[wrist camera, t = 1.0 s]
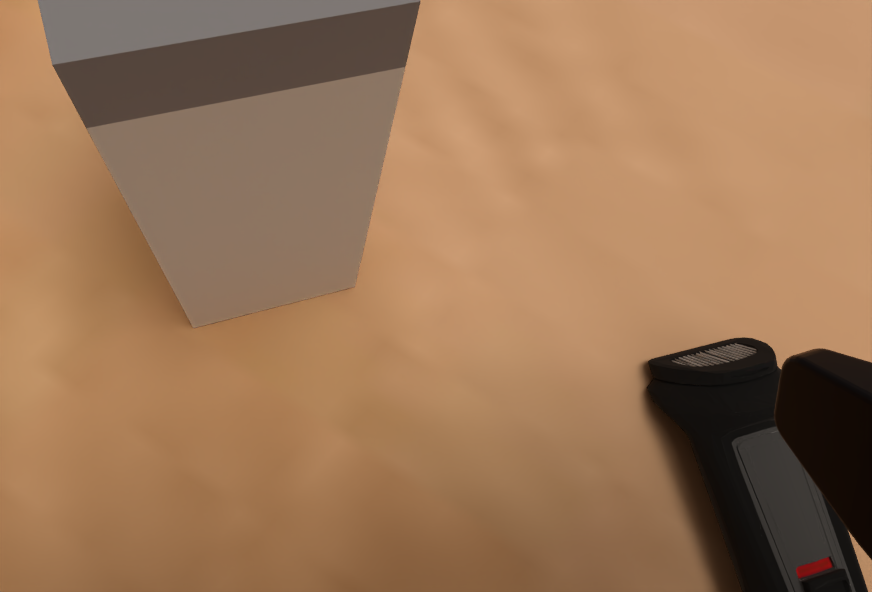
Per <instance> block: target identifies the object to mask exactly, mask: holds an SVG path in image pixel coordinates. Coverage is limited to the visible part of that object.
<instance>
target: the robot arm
mask: <svg viewBox="0 0 872 592" xmlns="http://www.w3.org/2000/svg"><path fill="white" fill-rule="evenodd" d="M774 419H775V423H776V427H777V429H778V431H779V433H780V435H781V436H782V438H783V439H784V441H785V442H786V444H787V445H788V446H789V448H790V449H791V451H792V452H793V453H794V455H795V456H796V458H797V459H798V460H799V462H800V463H801V465H802V466H803V467H804V469H805V470H806V472H807V473H808V475H809V476H810V477H811V479H812V480H813V482H814V483H815V484H816V486H817V487H818V489H819V490H820V491H821V493H822V494H823V496H824V497H825V498H826V500H827V501H828V503H829V504H830V505H831V507H832V508H833V510H834V511H835V512H836V514H837V515H838V517H839V518H840V520H841V521H842V522H843V524H844V525H845V527H846V528H847V529H848V531H849V532H850V533H851V535H852V536H853V537H854V538H855V540H856V541H857V542H858V544H859V545H860V546H861V548H862V549H863V550H864V551H865V552H866V554H867V555H868V556H869V557H870V558H871V560H872V363H871V362H868V361H864V360H861V359H858V358H854V357H851V356H847V355H844V354H841V353H837V352H834V351H831V350H827V349H820V348H819V349H813V350H809V351H806V352H803V353H800V354H797V355H793V356H791V357H789V358H787V359H786V361H785V362H784V364H783V366H782V369H781V374H780V380H779V386H778V392H777V398H776V404H775V409H774Z"/></svg>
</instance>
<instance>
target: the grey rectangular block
mask: <svg viewBox="0 0 872 592" xmlns="http://www.w3.org/2000/svg"><path fill="white" fill-rule="evenodd" d="M38 3H39V8H40V12H41V17H42V21H43V25H44V30H45V34H46V39H47V43H48V47H49V52H50V56H51V61H52V65H53V67H54V69H55V71H56V72H57V74H58V76H59V78H60V80H61V82H62V84H63V85H64V87H65V89H66V91H67V93H68V95H69V97H70V99H71V100H72V102H73V104H74V106H75V108H76V110H77V112H78V114H79V115H80V117H81V119H82V121H83V123H84V125H85V127H86V128H87V130H88V132H89V134H90V136H91V138H92V140H93V142H94V143H95V145H96V147H97V149H98V151H99V153H100V155H101V157H102V158H103V160H104V162H105V164H106V166H107V168H108V170H109V171H110V173H111V175H112V177H113V179H114V181H115V183H116V185H117V186H118V188H119V190H120V192H121V194H122V196H123V198H124V200H125V201H126V203H127V205H128V207H129V209H130V211H131V213H132V214H133V216H134V218H135V220H136V222H137V224H138V226H139V228H140V229H141V231H142V233H143V235H144V237H145V239H146V241H147V243H148V244H149V246H150V248H151V250H152V252H153V254H154V256H155V257H156V259H157V261H158V263H159V265H160V267H161V269H162V271H163V272H164V274H165V276H166V278H167V280H168V282H169V284H170V285H171V287H172V289H173V291H174V293H175V295H176V297H177V299H178V300H179V302H180V304H181V306H182V308H183V310H184V312H185V314H186V315H187V317H188V319H189V321H190V323H191V325H192V327H193V328H197V327H200V326H204V325H208V324H212V323H216V322H220V321H224V320H228V319H232V318H235V317H239V316H243V315H247V314H251V313H255V312H259V311H263V310H267V309H270V308H274V307H278V306H282V305H286V304H290V303H294V302H298V301H302V300H306V299H309V298H313V297H317V296H321V295H325V294H329V293H333V292H337V291H341V290H344V289H348V288H352V287H355V284H356V280H357V276H358V271H359V267H360V263H361V258H362V254H363V250H364V245H365V241H366V236H367V232H368V228H369V223H370V219H371V215H372V210H373V206H374V202H375V197H376V193H377V189H378V184H379V180H380V175H381V171H382V167H383V162H384V158H385V154H386V149H387V145H388V141H389V136H390V132H391V127H392V123H393V119H394V114H395V110H396V106H397V101H398V97H399V93H400V88H401V84H402V80H403V75H404V71H405V66H406V62H407V58H408V53H409V49H410V45H411V40H412V36H413V32H414V27H415V23H416V19H417V14H418V10H419V5H420V0H38Z"/></svg>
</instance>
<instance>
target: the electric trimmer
mask: <svg viewBox="0 0 872 592" xmlns="http://www.w3.org/2000/svg"><path fill="white" fill-rule="evenodd" d="M648 362H649V366H650V369H651V372H652V375H653V377H655V378H654V380H653V381H652V382H651V383H650V385H649V386H648V387H647V388H648V391H649V393H650V395H651V397H652V399H653V402H654V403H655V404H656V405H657V406H658V407H659V408H660V409H661V410H662V411H663V412H664V413H666V414H667V415H668V416H669V417H670V418H671V419H673V420H674V421H675V422H676V423H677V424H678V425H679V427H680V428H681V429H682V430H683V431H684V432H685V433H686V434H687V436H688V438H689V440H690V443H691V445H692V448H693V451H694V454H695V457H696V460H697V463H698V465H699V468H700V471H701V474H702V477H703V480H704V483H705V485H706V488H707V491H708V494H709V497H710V500H711V503H712V505H713V508H714V511H715V514H716V517H717V520H718V523H719V525H720V528H721V531H722V534H723V537H724V540H725V543H726V545H727V548H728V551H729V554H730V557H731V560H732V562H733V565H734V568H735V571H736V574H737V577H738V580H739V582H740V585H741V588H742V591H743V592H868V590H867V587H866V584H865V581H864V578H863V575H862V572H861V569H860V566H859V563H858V560H857V557H856V554H855V551H854V548H853V545H852V542H851V538H850V535H849V532H848V529H847V528H846V527H845V525H844V524H843V522H842V521H841V520H840V518H839V517H838V515H837V514H836V512H835V511H834V510H833V508H832V507H831V505H830V504H829V503H828V501H827V500H826V498H825V497H824V496H823V494H822V493H821V491H820V490H819V489H818V487H817V486H816V484H815V483H814V482H813V480H812V479H811V477H810V476H809V475H808V473H807V472H806V470H805V469H804V467H803V466H802V465H801V463H800V462H799V460H798V459H797V458H796V456H795V455H794V453H793V452H792V451H791V449H790V448H789V446H788V445H787V444H786V442H785V441H784V439H783V438H782V436H781V435H780V433H779V431H778V429H777V427H776V423H775V419H774V409H775V404H776V398H777V392H778V386H779V380H780V374H781V369H780V368H779V367H778V366H777V361H776V356H775V353H774V351H773V349H772V348H771V347H770V346H769V345H768V344H767V343H764V342H761V341H758V340H756V339H753V338H734V339H729V340H725V341H721V342H717V343H713V344H709V345H705V346H701V347H697V348H694V349H690V350H686V351H682V352H678V353H674V354H670V355H666V356H662V357H658V358H654V359H651V360H650V361H648ZM692 384H693V385H692Z"/></svg>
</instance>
